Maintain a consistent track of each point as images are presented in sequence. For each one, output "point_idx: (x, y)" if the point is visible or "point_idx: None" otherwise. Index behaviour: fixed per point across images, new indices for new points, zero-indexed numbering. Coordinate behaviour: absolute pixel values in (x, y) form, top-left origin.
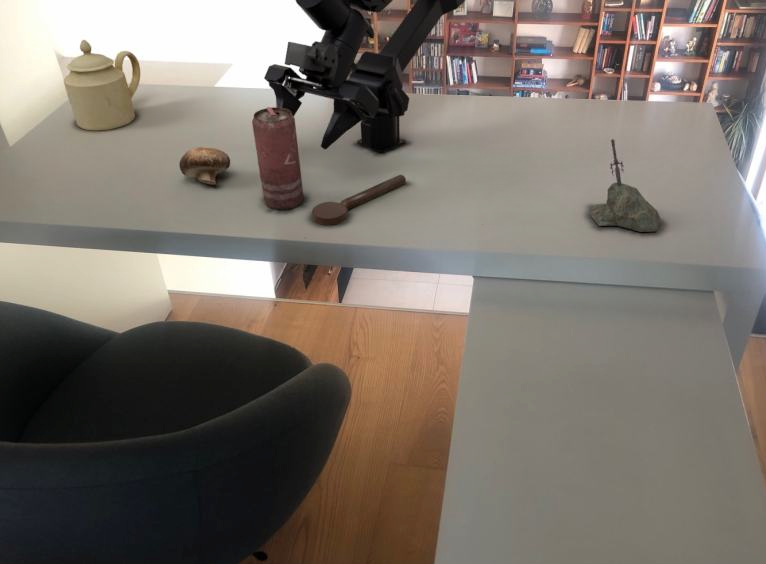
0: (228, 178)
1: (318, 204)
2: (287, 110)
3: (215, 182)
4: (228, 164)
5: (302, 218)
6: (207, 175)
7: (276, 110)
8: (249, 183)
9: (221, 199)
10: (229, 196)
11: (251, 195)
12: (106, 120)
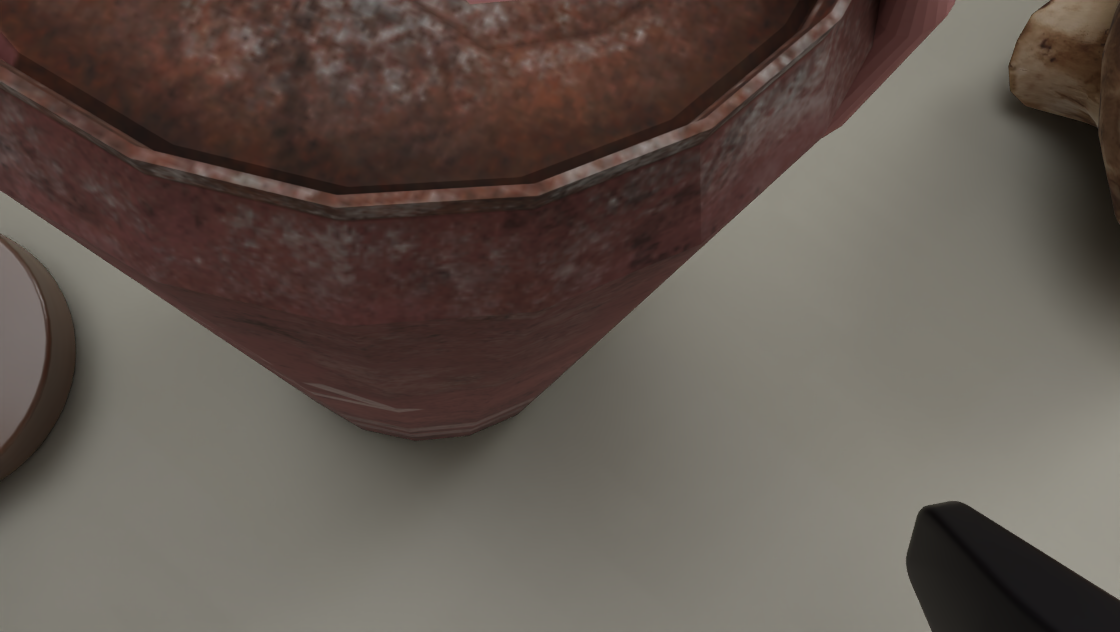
0: (1071, 253)
1: (41, 351)
2: (345, 195)
3: (1021, 83)
4: (1118, 202)
5: None
6: (1091, 22)
7: (683, 55)
8: (891, 307)
9: None
10: None
11: None
12: None
